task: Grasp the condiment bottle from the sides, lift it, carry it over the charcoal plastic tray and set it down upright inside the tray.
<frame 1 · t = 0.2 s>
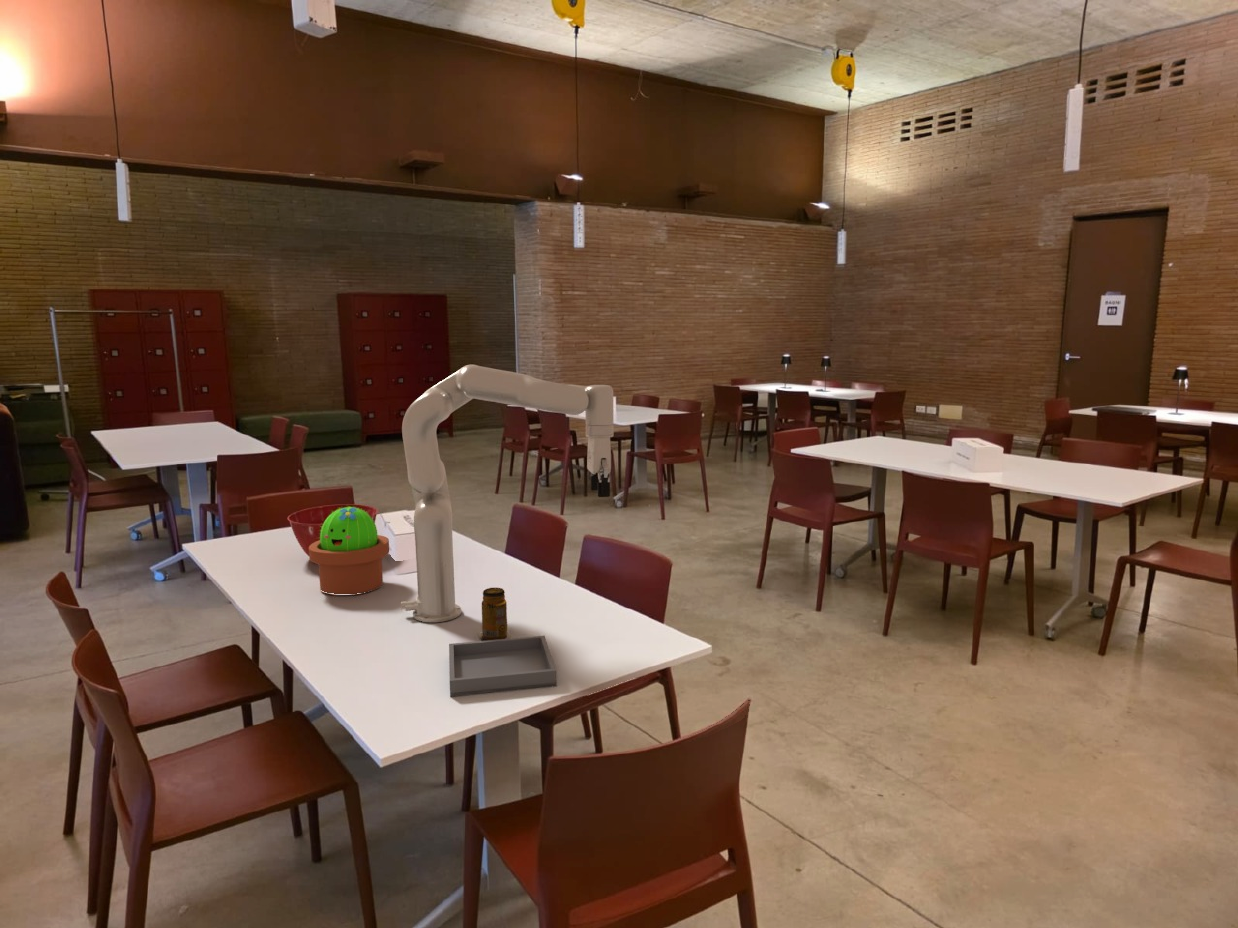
hand: (600, 493, 209), 31 cm above the table, tool pointing down, fingers open, 9 cm apart
potted cactus: (352, 587, 229), on the table
mixing bowl: (336, 558, 260), on the table
condiment: (495, 638, 189), on the table
tray: (500, 671, 170), on the table
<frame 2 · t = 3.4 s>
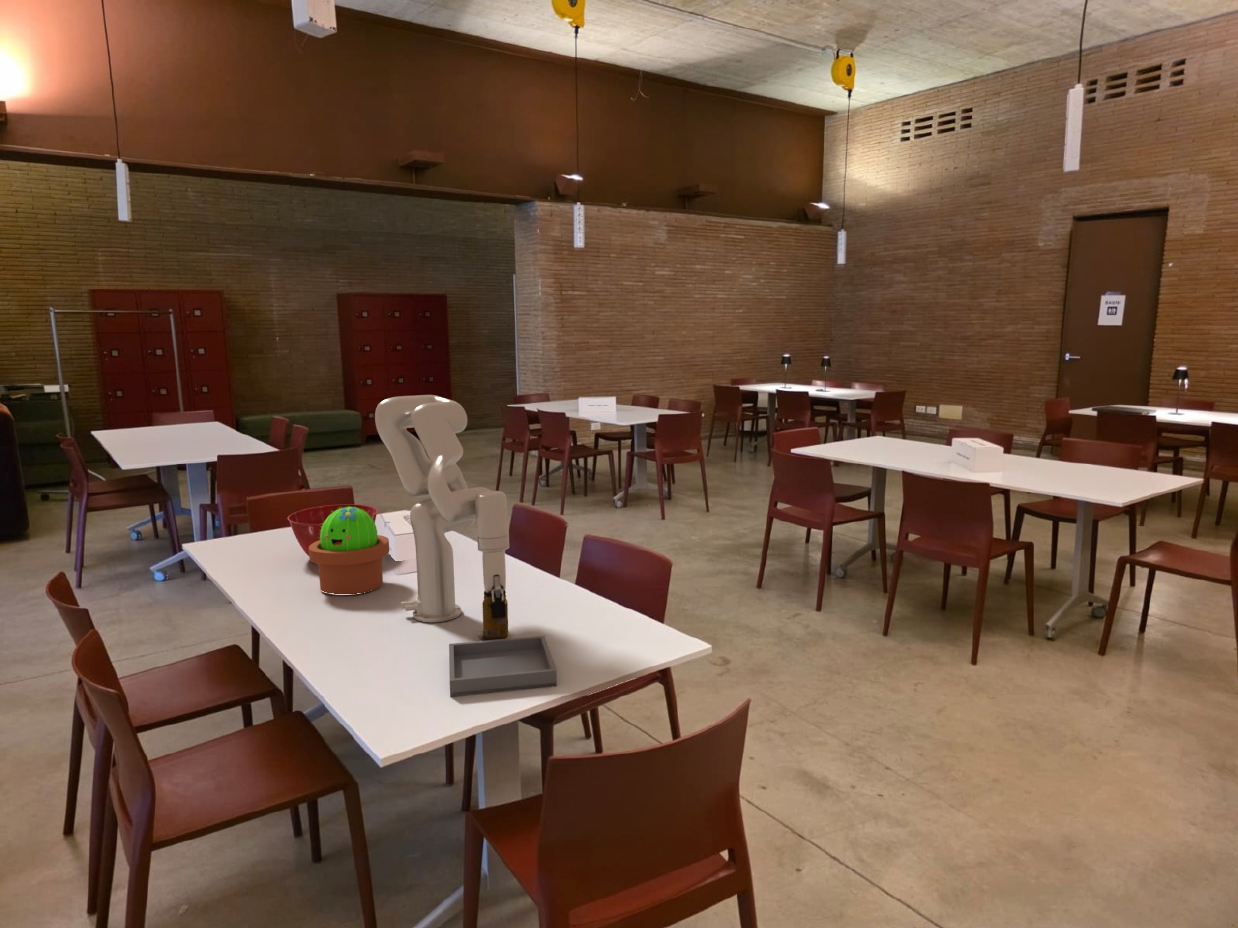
hand: (497, 611, 187), 7 cm above the table, tool pointing down, fingers open, 9 cm apart
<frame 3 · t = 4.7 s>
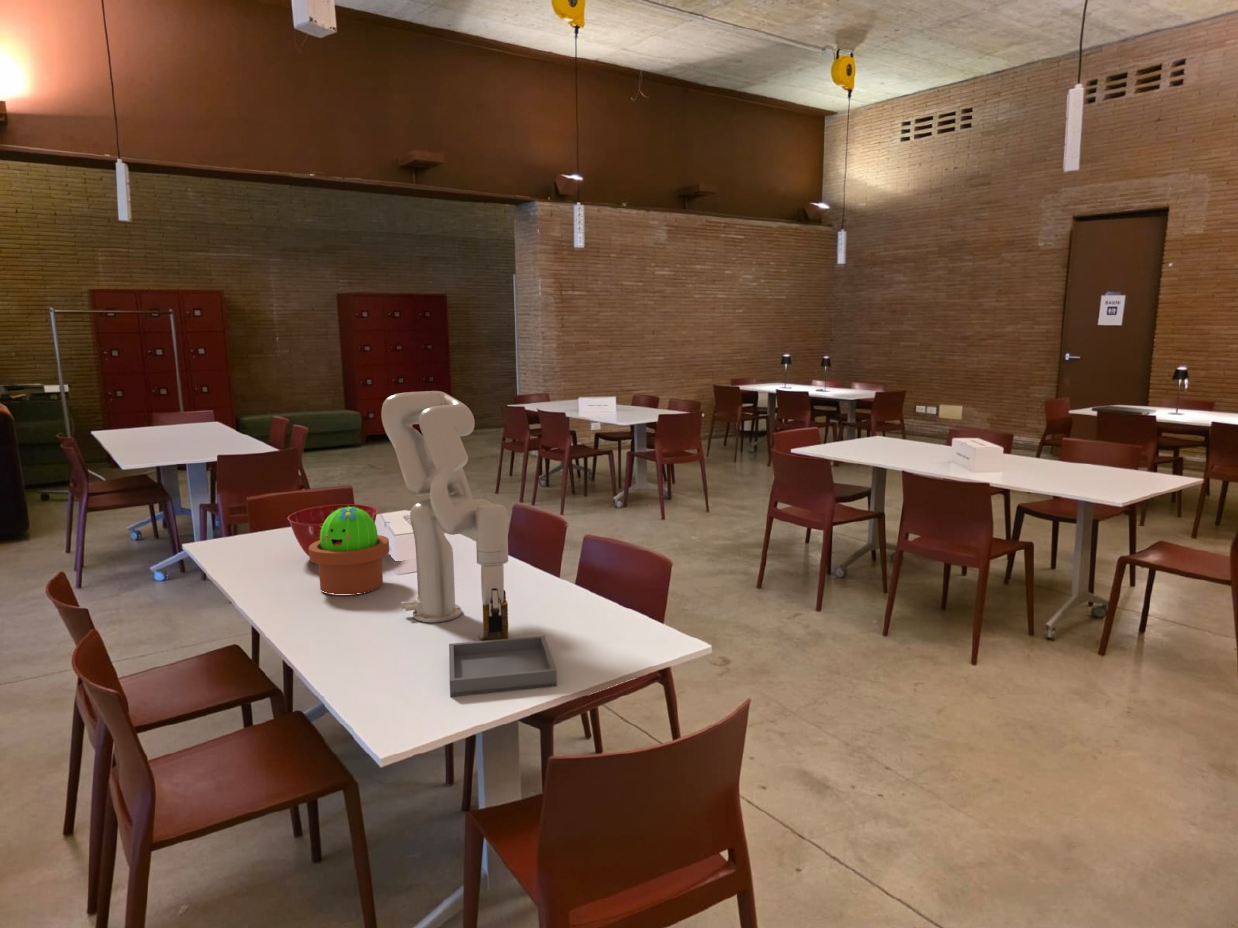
hand: (494, 625, 188), 3 cm above the table, tool pointing down, fingers closed on condiment, 6 cm apart
condiment: (496, 639, 188), on the table, touching gripper
everything else where it was.
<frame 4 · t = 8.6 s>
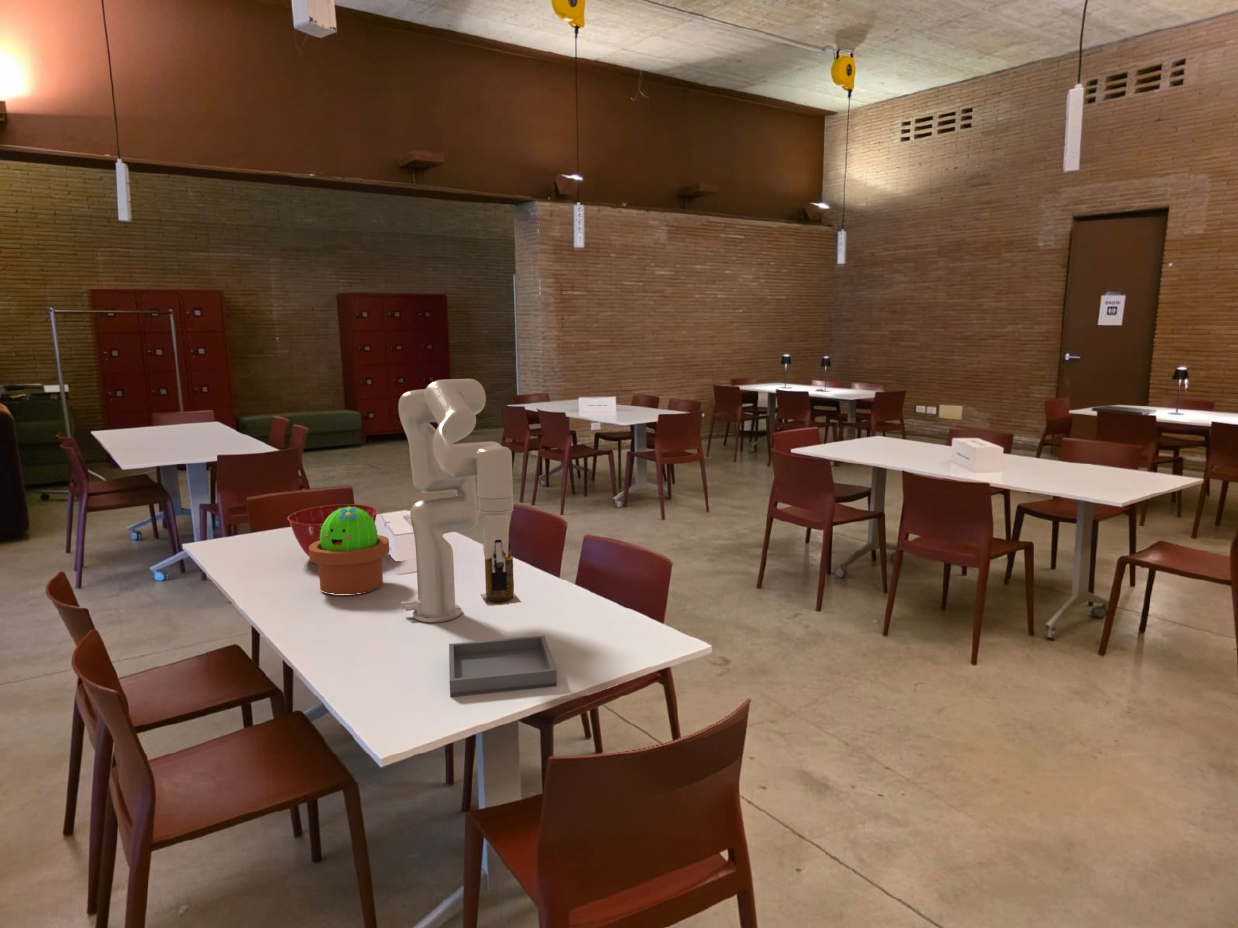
hand: (498, 584, 167), 20 cm above the table, tool pointing down, fingers closed on condiment, 6 cm apart
condiment: (500, 599, 167), point 17 cm above the table, touching gripper
everything else where it was.
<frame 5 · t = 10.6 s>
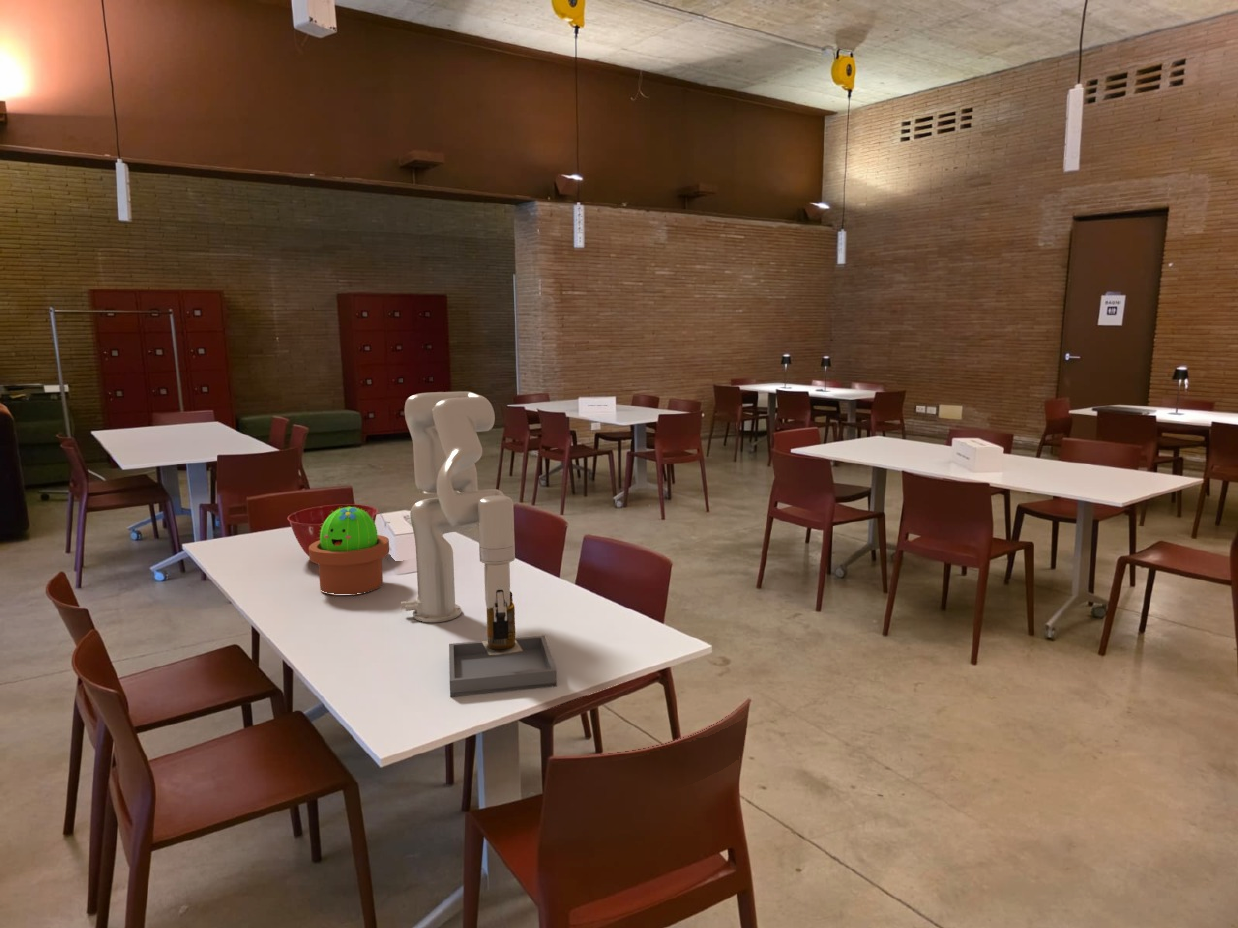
hand: (499, 632, 168), 9 cm above the table, tool pointing down, fingers closed on condiment, 6 cm apart
condiment: (501, 647, 168), point 6 cm above the table, touching gripper
everything else where it was.
when the fingers open (5 cm above the table, at t = 12.3 s): condiment drops 1 cm, resting on tray.
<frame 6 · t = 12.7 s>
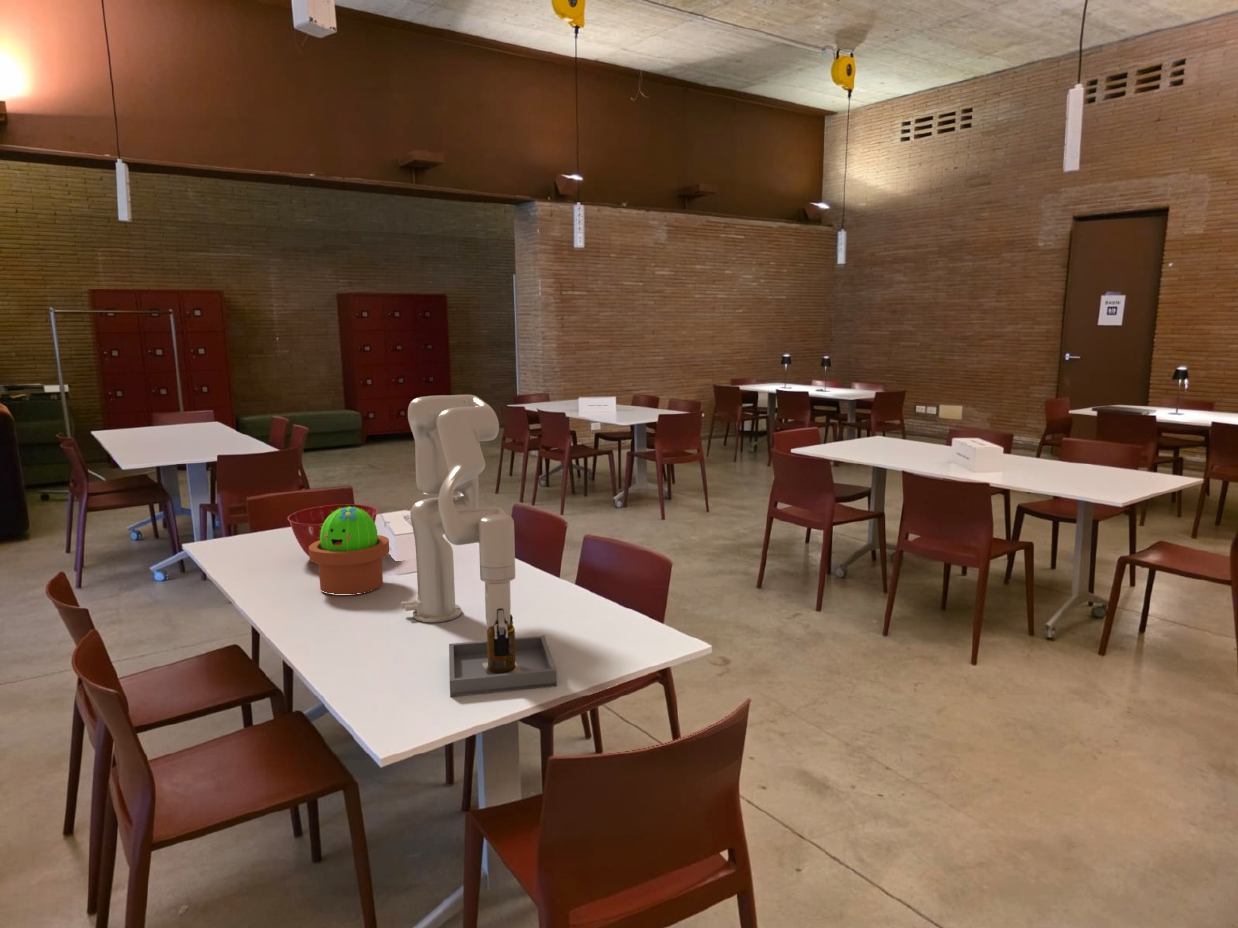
hand: (500, 646, 169), 6 cm above the table, tool pointing down, fingers open, 9 cm apart
condiment: (502, 670, 169), point 1 cm above the table, touching tray
everything else where it was.
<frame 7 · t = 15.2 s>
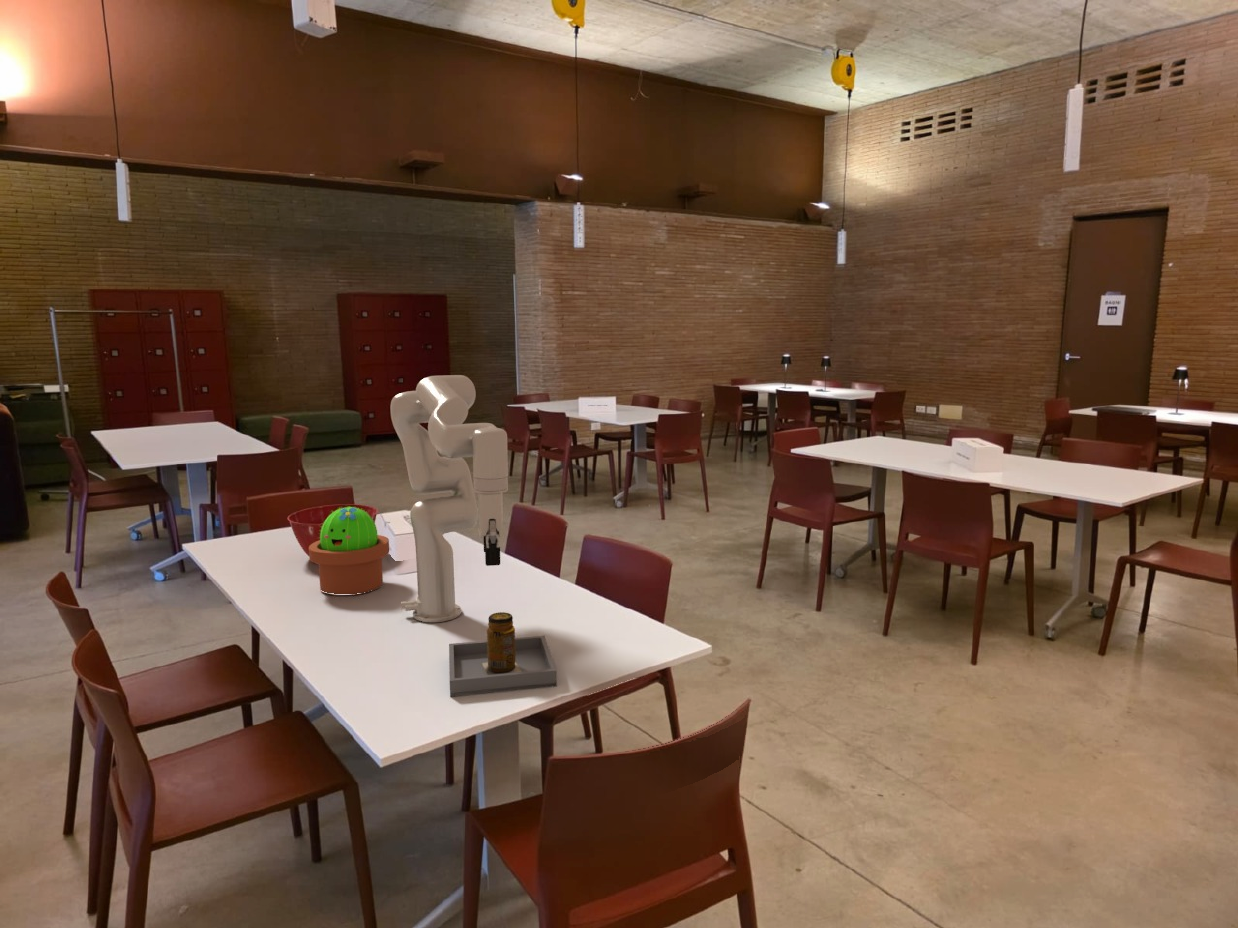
hand: (491, 558, 173), 24 cm above the table, tool pointing down, fingers open, 9 cm apart
nothing on the table moved.
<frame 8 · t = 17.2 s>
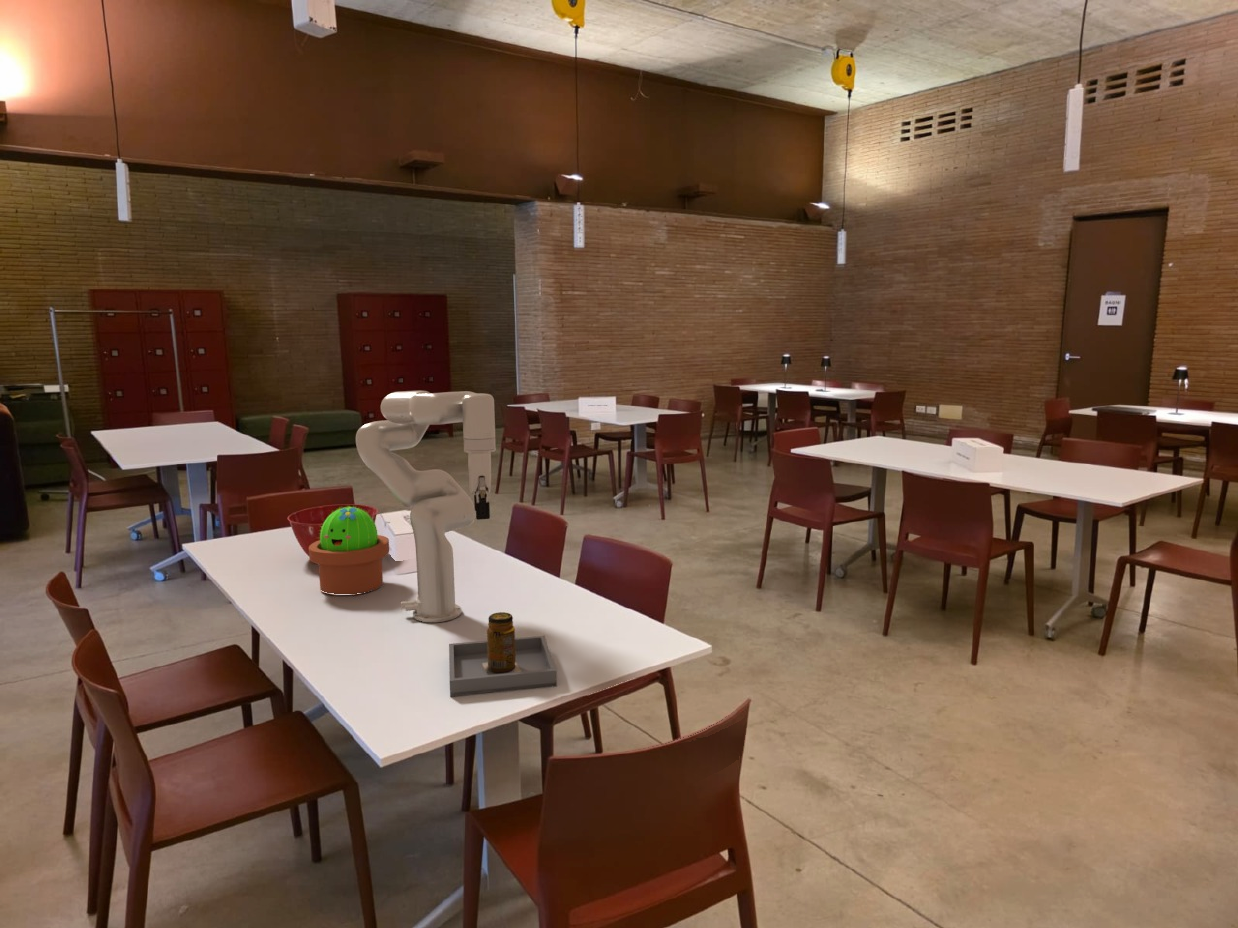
hand: (482, 514, 187), 30 cm above the table, tool pointing down, fingers open, 9 cm apart
nothing on the table moved.
at the end: condiment inside the target area on the tray (0.6 cm from its centre), point 0.6 cm above the tray's base; condiment tilted 0°; the gripper is holding nothing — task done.
